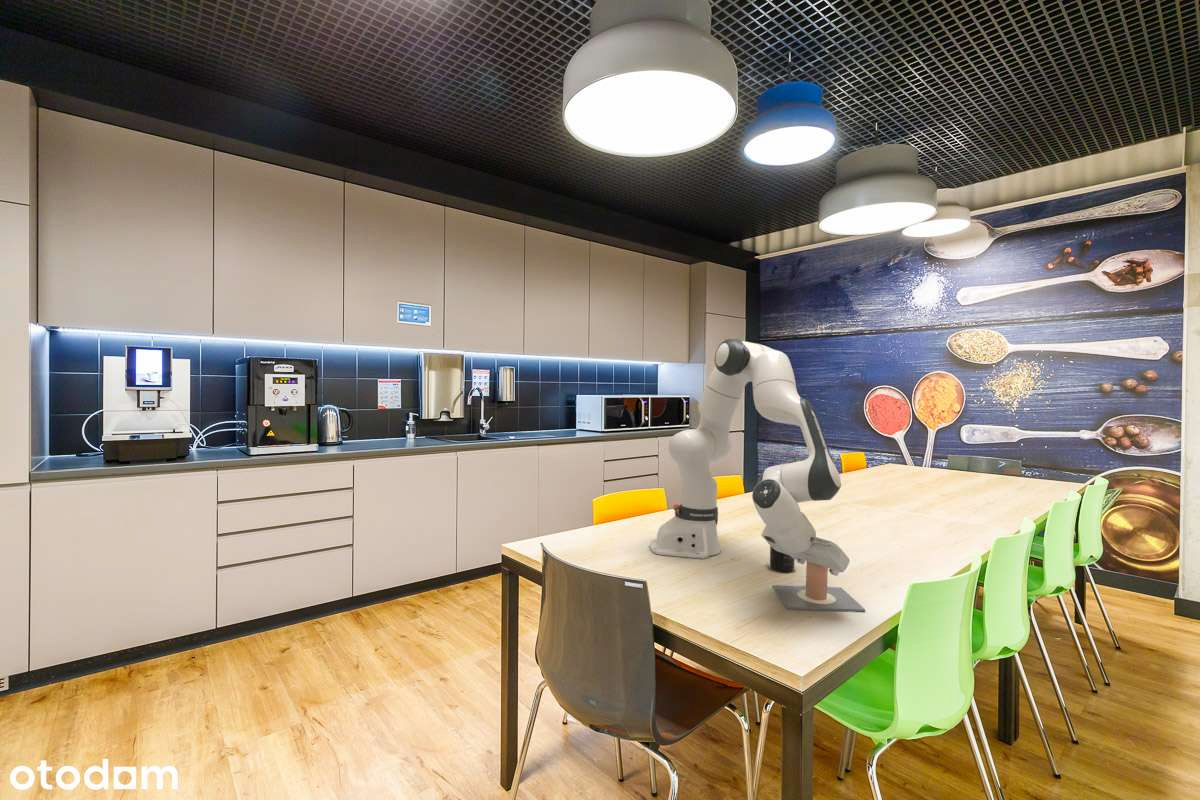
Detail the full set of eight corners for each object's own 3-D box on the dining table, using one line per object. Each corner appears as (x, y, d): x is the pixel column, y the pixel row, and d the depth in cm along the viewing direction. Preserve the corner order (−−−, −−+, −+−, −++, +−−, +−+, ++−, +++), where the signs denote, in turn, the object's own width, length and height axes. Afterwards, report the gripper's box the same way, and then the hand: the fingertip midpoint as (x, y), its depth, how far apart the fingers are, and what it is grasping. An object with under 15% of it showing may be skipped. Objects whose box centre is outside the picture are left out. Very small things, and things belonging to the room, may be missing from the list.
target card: (788, 609, 130) (788, 606, 130) (772, 587, 144) (772, 584, 144) (865, 612, 130) (865, 609, 130) (841, 589, 144) (841, 587, 144)
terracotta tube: (806, 598, 135) (807, 550, 135) (804, 591, 140) (806, 545, 140) (827, 601, 134) (829, 553, 134) (825, 594, 139) (827, 547, 138)
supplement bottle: (794, 566, 161) (795, 526, 161) (794, 574, 155) (795, 532, 154) (769, 563, 163) (771, 524, 163) (768, 571, 157) (770, 529, 157)
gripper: (840, 533, 124) (863, 569, 130) (768, 514, 141) (791, 546, 147) (828, 556, 122) (851, 591, 127) (755, 533, 139) (779, 565, 144)
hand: (818, 567), depth 137 cm, fingers open, 8 cm apart
